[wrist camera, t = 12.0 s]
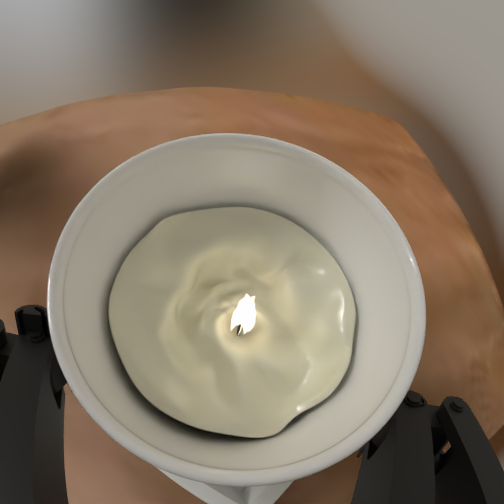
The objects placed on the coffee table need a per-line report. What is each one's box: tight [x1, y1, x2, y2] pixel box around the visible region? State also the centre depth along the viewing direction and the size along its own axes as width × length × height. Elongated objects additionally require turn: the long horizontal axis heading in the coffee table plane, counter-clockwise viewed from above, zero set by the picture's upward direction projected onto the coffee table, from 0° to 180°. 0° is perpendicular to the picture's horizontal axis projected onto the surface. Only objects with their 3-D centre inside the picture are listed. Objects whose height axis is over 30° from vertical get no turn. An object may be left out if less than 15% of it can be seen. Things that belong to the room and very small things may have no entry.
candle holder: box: [47, 133, 426, 487], centre depth 11 cm, size 10×10×12 cm
